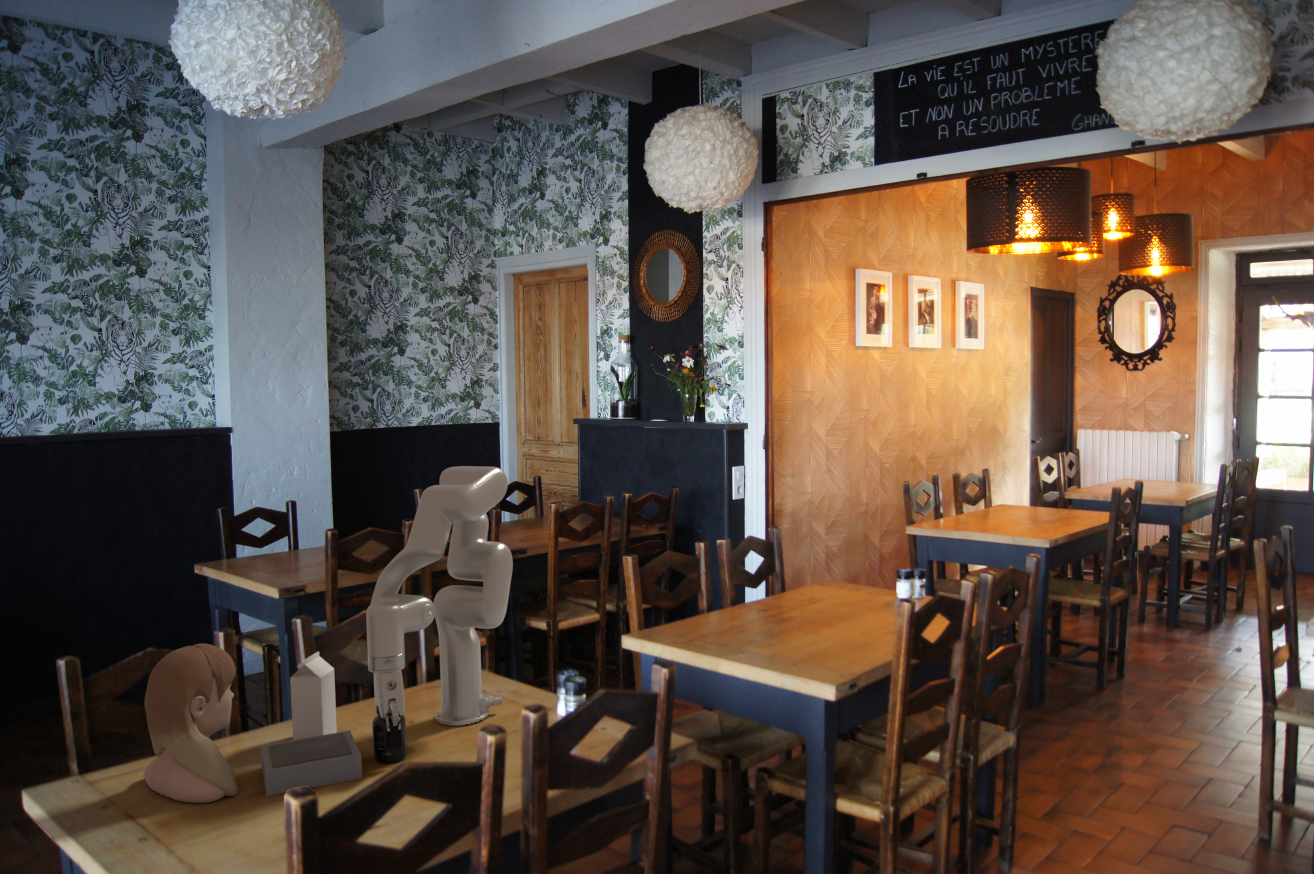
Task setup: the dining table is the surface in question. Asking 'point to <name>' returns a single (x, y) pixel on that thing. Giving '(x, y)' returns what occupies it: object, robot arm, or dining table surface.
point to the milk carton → (313, 698)
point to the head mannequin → (190, 724)
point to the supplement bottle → (380, 744)
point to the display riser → (310, 762)
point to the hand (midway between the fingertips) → (389, 740)
